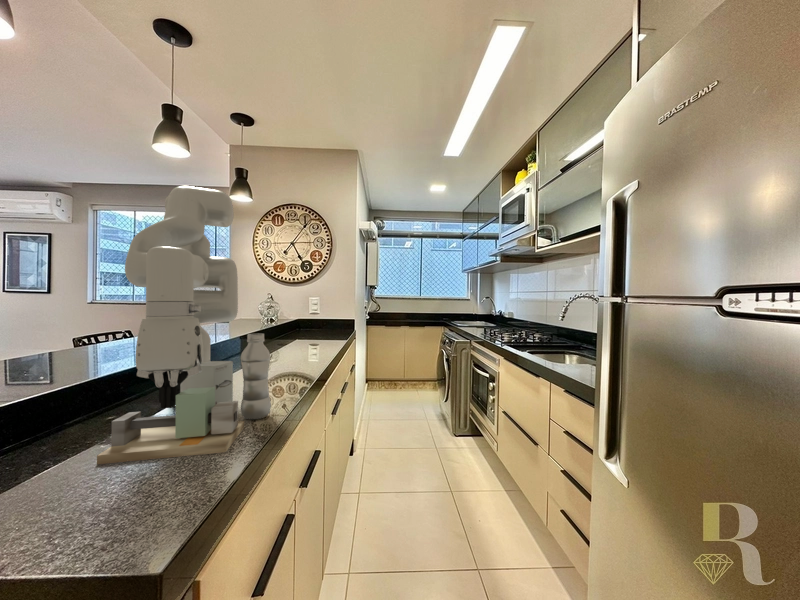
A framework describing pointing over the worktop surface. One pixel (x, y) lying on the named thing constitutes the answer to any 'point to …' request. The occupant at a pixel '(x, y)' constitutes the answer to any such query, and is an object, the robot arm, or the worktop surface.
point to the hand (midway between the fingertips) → (169, 405)
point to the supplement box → (215, 379)
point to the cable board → (170, 436)
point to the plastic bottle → (255, 378)
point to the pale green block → (194, 412)
